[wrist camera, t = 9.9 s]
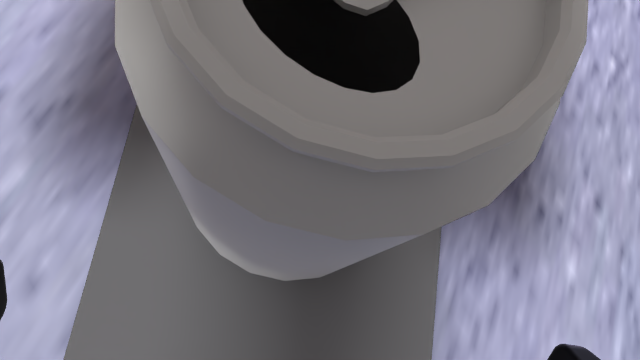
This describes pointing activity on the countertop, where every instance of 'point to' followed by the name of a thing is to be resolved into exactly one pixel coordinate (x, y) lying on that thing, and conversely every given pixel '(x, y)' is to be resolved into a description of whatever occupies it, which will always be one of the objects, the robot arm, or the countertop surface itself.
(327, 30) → the can
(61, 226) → the countertop surface
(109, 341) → the seat pad
